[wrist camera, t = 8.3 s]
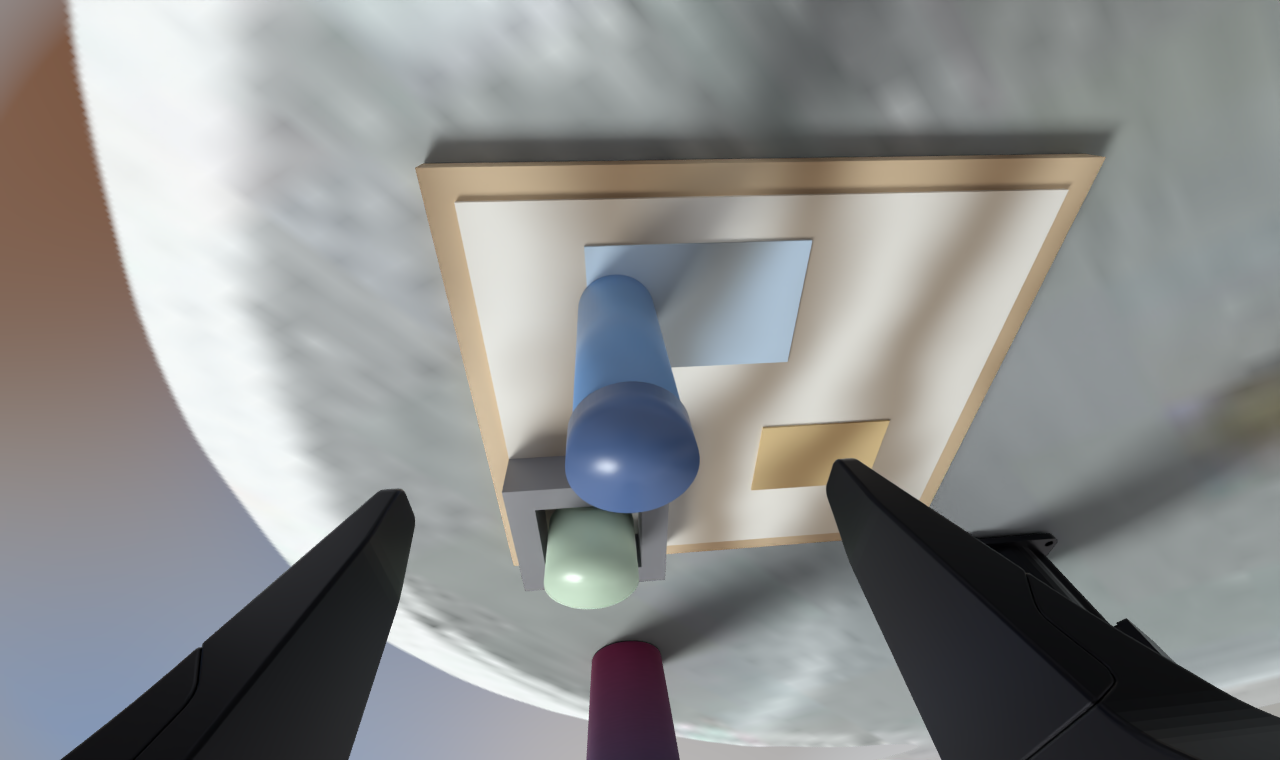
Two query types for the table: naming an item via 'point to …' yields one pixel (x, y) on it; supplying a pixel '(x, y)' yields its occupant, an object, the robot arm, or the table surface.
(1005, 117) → the table surface
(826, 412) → the beige flat board
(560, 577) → the button
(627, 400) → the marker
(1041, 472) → the table surface
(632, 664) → the cup
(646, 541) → the button housing
